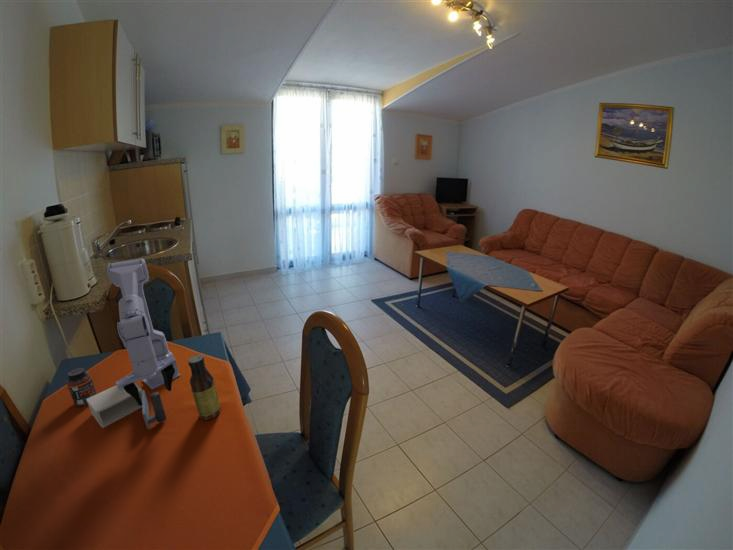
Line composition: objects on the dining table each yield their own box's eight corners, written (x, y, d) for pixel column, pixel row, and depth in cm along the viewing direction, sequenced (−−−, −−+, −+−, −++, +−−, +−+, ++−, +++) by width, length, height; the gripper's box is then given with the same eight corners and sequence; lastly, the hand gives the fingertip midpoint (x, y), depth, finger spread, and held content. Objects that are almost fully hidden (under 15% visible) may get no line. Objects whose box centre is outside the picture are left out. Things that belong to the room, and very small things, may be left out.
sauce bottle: (225, 409, 105) (214, 355, 98) (209, 423, 100) (195, 367, 92) (210, 403, 107) (198, 350, 100) (193, 417, 102) (179, 362, 95)
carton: (135, 393, 113) (130, 378, 111) (146, 404, 108) (142, 389, 105) (92, 414, 104) (86, 399, 102) (102, 428, 99) (96, 412, 96)
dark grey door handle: (146, 404, 107) (138, 380, 103) (164, 398, 109) (157, 374, 106) (147, 429, 97) (138, 403, 94) (167, 422, 100) (159, 396, 96)
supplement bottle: (85, 408, 106) (73, 379, 102) (70, 406, 108) (57, 376, 103) (102, 395, 112) (92, 367, 108) (88, 393, 113) (77, 365, 109)
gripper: (116, 375, 85) (131, 417, 90) (176, 349, 95) (186, 388, 100) (107, 365, 89) (122, 405, 94) (166, 341, 99) (176, 379, 104)
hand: (154, 396), depth 97 cm, fingers open, 7 cm apart
